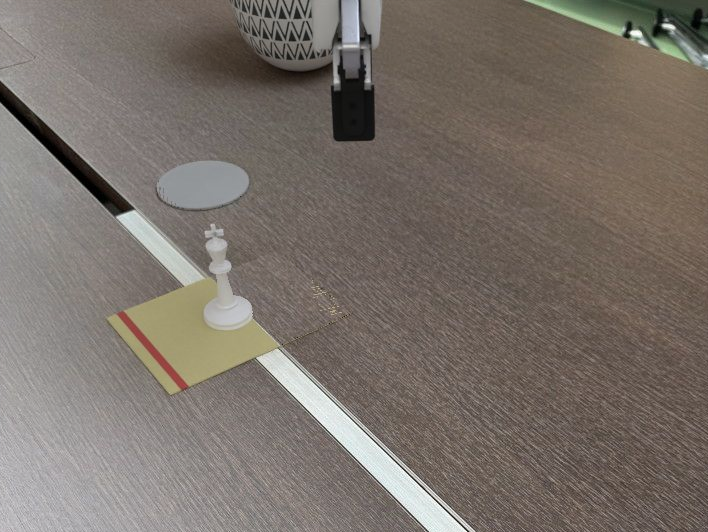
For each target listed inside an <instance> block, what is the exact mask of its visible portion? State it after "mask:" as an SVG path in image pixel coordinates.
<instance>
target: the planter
mask: <svg viewBox="0 0 708 532" xmlns="http://www.w3.org/2000/svg"><path fill="white" fill-rule="evenodd" d="M228 2H229V5H230V9H231V12H232V15H233V18H234V21H235V23H236V26H237V28H238V31H239V33H240V34H241V37H242V38H243V40H244V41H245V43H246V44H247V46H248V47H249V48H250V49H251V50H252V52H254V53H255V54H256V55H257V56H258V57H260V58H261V59H262V60H263V61H265V62H267V63H268V64H270V65H272V66H273V67H276V68H278V69H280V70H284V71H290V72H308V71H313V70H317V69H320V68H323V67H325V66H328V65H329V64H331V63H333V52H332V44H331V47H330V49H329V50H322V53H318V52H317V51H316V50H315V49H314V47H313V31H312V12H311V0H229V1H228ZM337 33H338V31H337Z"/></svg>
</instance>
